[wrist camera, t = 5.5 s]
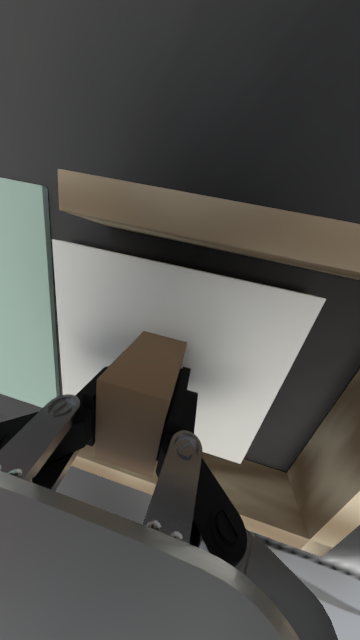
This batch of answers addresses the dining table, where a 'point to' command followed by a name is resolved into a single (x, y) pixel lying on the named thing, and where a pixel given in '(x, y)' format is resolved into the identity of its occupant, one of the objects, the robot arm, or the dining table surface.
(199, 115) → the dining table surface
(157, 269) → the cover plate
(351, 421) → the open-sided wooden frame
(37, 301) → the sage mat
